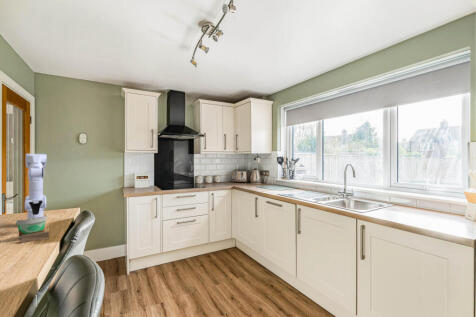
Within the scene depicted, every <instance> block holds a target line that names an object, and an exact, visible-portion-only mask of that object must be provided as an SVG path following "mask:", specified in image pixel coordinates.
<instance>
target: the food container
mask: <svg viewBox="0 0 476 317" xmlns="http://www.w3.org/2000/svg"><path fill="white" fill-rule="evenodd" d="M47 220H48V217H47V215H46V214H44V215H43V217H39V218H31V219H27V218H26V219H16V222H15V225H17V230H18V239H19V240H20V241H21V236H22V235H27V234H33V233H39V232H45V225H46V221H47Z"/></svg>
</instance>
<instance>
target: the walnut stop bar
mask: <svg viewBox="0 0 476 317" xmlns="http://www.w3.org/2000/svg"><path fill="white" fill-rule="evenodd" d="M49 238H50V231H49V230H44V232H39V233H33V234H27V235H22V236H21V240H20V242H21V244H25V243H31V242H36V241H41V240H42V241H43V240H47V239H49Z"/></svg>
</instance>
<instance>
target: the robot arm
mask: <svg viewBox="0 0 476 317" xmlns="http://www.w3.org/2000/svg"><path fill="white" fill-rule="evenodd" d="M25 167H26V169H28V171H27V178H28V182H29V183H28V195H27V196H25V199H24V210H25V211H27V218H26V220H27V219H31V218H39V217H44V210H45V209H46V208H47V196H46V195H44V178H45V168H46V167H47V154H46V153H26V154H25Z"/></svg>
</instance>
